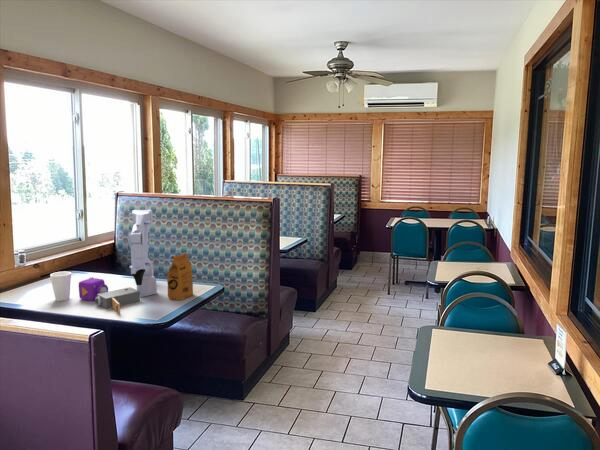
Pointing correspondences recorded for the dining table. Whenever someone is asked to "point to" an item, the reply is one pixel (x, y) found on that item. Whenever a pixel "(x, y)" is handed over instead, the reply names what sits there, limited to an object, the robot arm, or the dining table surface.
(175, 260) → the coffee package
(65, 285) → the foam cup
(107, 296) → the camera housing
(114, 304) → the door
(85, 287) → the toy camera
